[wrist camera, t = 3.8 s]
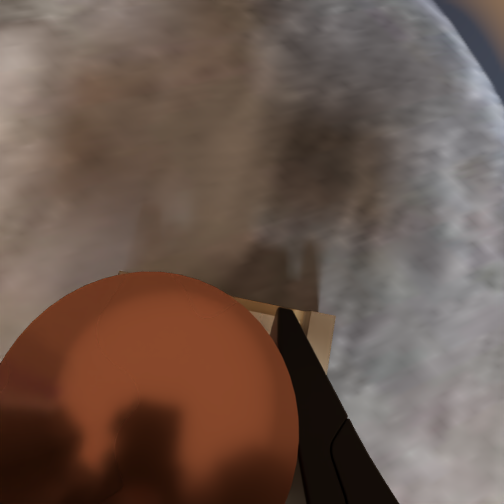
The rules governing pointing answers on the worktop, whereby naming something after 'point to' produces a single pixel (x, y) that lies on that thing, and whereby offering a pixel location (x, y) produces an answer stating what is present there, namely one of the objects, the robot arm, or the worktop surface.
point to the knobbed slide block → (147, 399)
